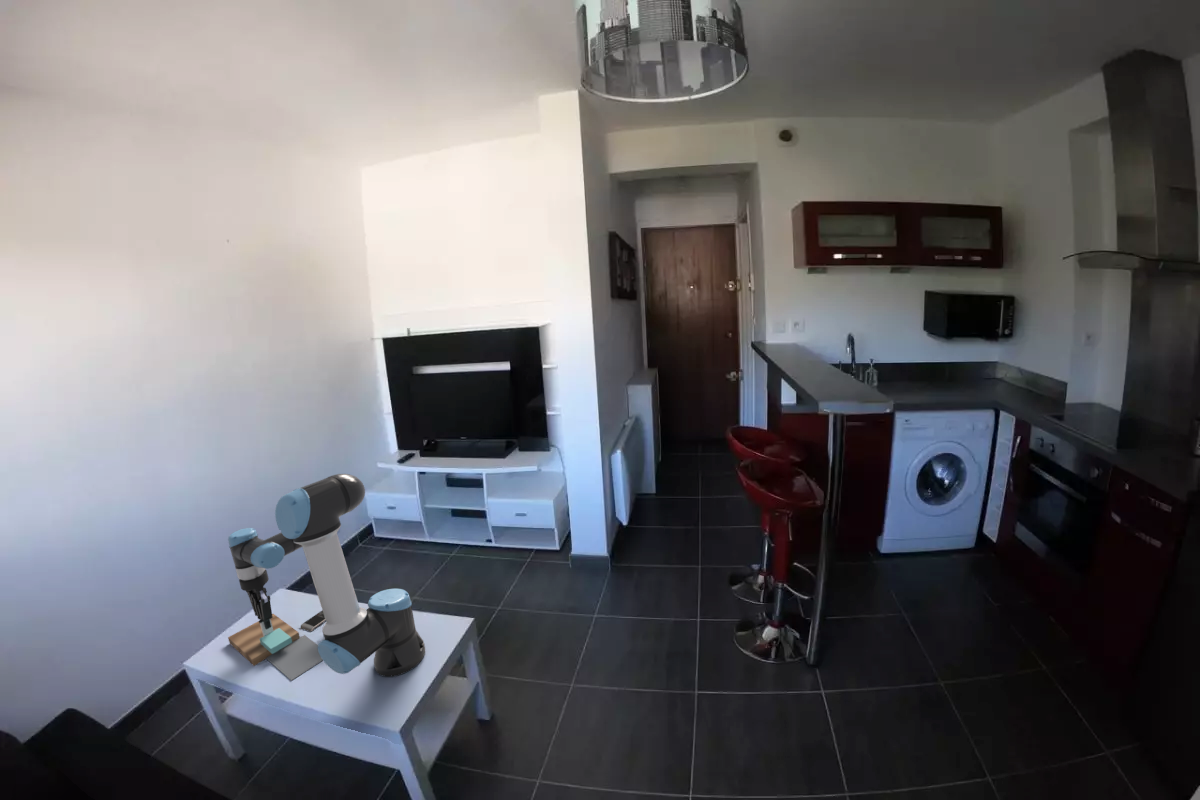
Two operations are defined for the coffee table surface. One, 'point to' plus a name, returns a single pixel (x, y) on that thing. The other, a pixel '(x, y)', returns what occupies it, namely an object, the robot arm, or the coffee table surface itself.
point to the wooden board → (258, 640)
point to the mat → (296, 657)
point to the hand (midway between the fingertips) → (268, 635)
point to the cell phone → (314, 622)
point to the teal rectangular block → (275, 640)
